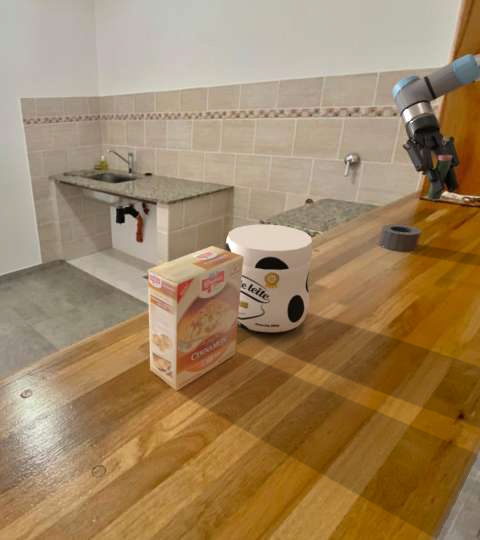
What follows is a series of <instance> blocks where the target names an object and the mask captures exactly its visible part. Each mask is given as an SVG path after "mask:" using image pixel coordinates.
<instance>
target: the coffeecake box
mask: <svg viewBox="0 0 480 540" xmlns="http://www.w3.org/2000/svg"><path fill="white" fill-rule="evenodd" d="M243 258H244V257H243V256H241V255H238V254H236V253H233V252H230V251H226V250H225V249H223V248H220V247H217V246H214V245H211V246H209V247H206V248H203V249H200V250H197V251H195V252H192V253H189V254H187V255H183V256H181V257H178V258H176V259H172V260H170V261H167V262H165V263H161V264H159V265H156V266H154V267H151V268H149V269H147V281H148V282H147V286H148V287H147V288H148V289H147V290H148V322H149V323H148V327H149V328H148V330H149V334H148V335H149V370H150V372H152V373H154V374H155V375H156V376H158V377H159V378H160V379H161V380H163V381H164V382H165V383H166V384H167V385H168V386H170V387H171V388H172V389H173V390H175V391H177V392H178V391H179V390H181V389H182V388H184V387H187V385H189V384H190V383H192V382H194V381H195V380H197V379H198V378H200V377H201V376H203V375H205V374H206V373H208V372H209V371H211V370H213V369H214V368H216V367H218V366H219V365H220V364H222V363H223V362H225V361H227V360H229V359H230V358H232V357H233V356H235V355H236V347H237V336H238V326H237V324H238V313H239V302H240V290H241V278H242V267H243Z"/></svg>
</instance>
